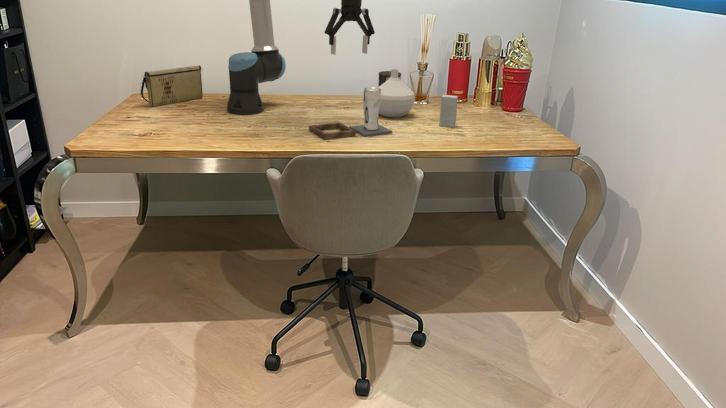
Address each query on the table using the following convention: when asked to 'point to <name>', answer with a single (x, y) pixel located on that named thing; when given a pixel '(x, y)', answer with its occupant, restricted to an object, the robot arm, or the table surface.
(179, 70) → the clutch purse
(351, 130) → the frame
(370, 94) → the beer glass
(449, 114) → the skincare box
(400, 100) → the vase
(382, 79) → the coffee can
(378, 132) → the slate pad
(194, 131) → the table surface
